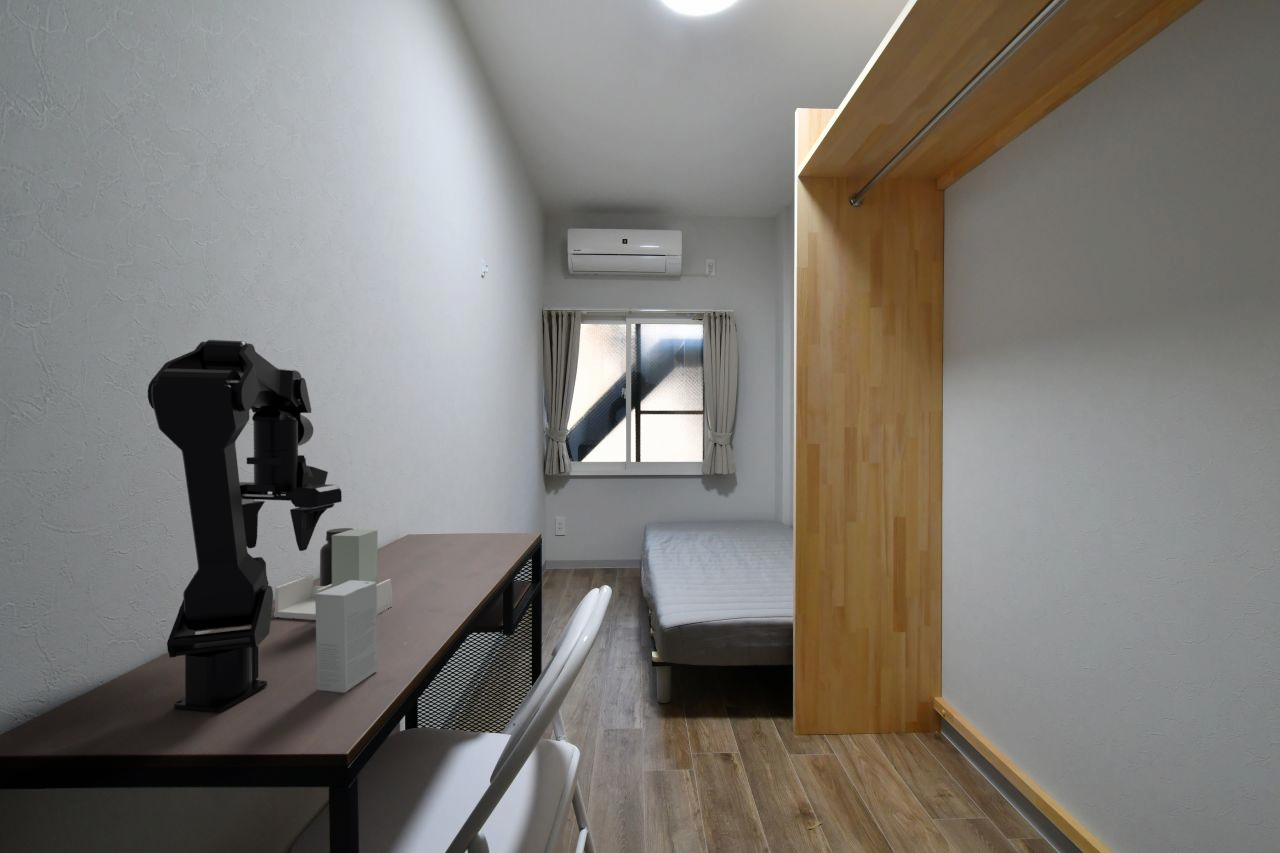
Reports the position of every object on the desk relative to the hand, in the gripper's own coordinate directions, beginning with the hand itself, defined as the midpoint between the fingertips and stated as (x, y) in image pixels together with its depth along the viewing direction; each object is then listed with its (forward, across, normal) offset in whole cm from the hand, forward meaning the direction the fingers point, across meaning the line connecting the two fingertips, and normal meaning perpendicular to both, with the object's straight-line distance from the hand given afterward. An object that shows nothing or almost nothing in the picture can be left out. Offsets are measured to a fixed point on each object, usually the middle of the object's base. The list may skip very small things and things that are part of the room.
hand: (277, 549), depth 82 cm
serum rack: (+13, -2, -10) cm, 17 cm away
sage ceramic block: (+12, -6, -10) cm, 17 cm away
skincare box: (+13, -22, +12) cm, 28 cm away
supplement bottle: (+14, +6, -21) cm, 26 cm away
